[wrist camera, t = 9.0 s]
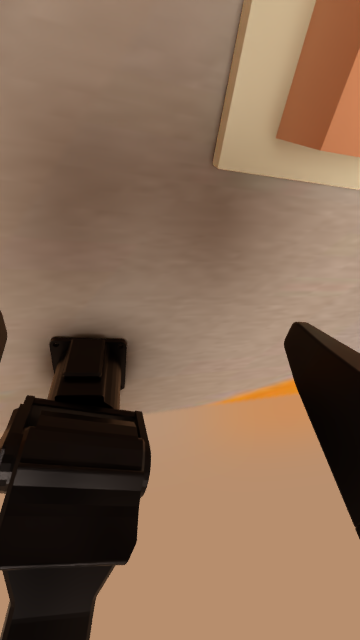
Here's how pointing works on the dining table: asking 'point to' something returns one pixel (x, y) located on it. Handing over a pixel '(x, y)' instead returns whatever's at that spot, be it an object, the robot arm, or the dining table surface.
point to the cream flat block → (272, 100)
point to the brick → (327, 82)
